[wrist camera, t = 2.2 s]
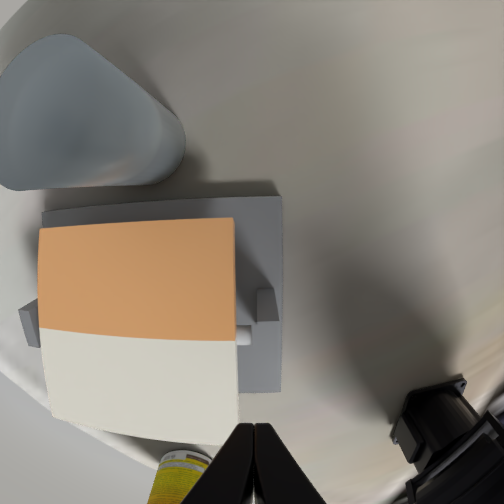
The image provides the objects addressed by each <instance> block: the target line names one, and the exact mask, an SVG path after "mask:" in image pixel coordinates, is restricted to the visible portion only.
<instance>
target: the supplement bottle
mask: <svg viewBox="0 0 504 504" xmlns="http://www.w3.org/2000/svg"><path fill="white" fill-rule="evenodd" d="M211 461H212V460H211V459H209V458H208V457H206V456H204V455H202V454H199V453H196V452H193V451H187V450H176V451H172V452H169V453H167V454H165V455H164V456H163V457H162V459H161V461H160V464H159V467H158V470H157V473H156V477H155V480H154V483H153V487H152V490H151V493H150V496H149V500H148V503H147V504H180V502H181V501H182V500H183V499H184V497H185V496H186V495H187V493H188V492H189V491H190V490H191V488H192V487H193V486H194V484H195V483H196V482H197V480H198V479H199V478H200V476H201V475H202V474H203V472H204V471H205V470H206V468H207V467H208V465H209V464H210V463H211Z"/></svg>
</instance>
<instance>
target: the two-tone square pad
mask: <svg viewBox="0 0 504 504" xmlns="http://www.w3.org/2000/svg"><path fill="white" fill-rule="evenodd" d="M38 316H39V331H40V342H41V352H42V360H43V367H44V374H45V381H46V386H47V392H48V397H49V402H50V407H51V412H52V416H53V417H54V418H57V419H61V420H64V421H67V422H71V423H75V424H78V425H82V426H86V427H90V428H95V429H99V430H103V431H108V432H113V433H118V434H123V435H129V436H134V437H140V438H147V439H154V440H162V441H170V442H179V443H190V444H204V445H223V444H224V443H225V441H226V440H227V438H228V437H229V436H230V434H231V433H232V431H233V430H234V428H235V427H236V425H237V424H239V423H240V420H239V393H238V362H237V345H252V328H251V325H236V281H235V222H234V220H233V217H231V218H202V219H178V220H157V221H139V222H122V223H106V224H92V225H78V226H66V227H54V228H42V229H40V231H39V246H38Z"/></svg>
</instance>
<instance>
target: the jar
mask: <svg viewBox="0 0 504 504" xmlns="http://www.w3.org/2000/svg"><path fill="white" fill-rule="evenodd" d="M185 147H186V137H185V132H184V129H183V126H182V124H181V122H180V121H179V119H178V118H177V117H176V116H175V115H174V114H173V113H172V112H170V111H169V110H168V109H167V108H166V107H164V106H163V105H162V104H161V103H160V102H159V101H157V100H156V99H155V98H154V97H153V96H151V95H150V94H149V93H148V92H146V91H145V90H144V89H143V88H142V87H140V86H139V85H138V84H137V83H135V82H134V81H133V80H132V79H131V78H129V77H128V76H127V75H126V74H124V73H123V72H122V71H121V70H119V69H118V68H117V67H116V66H114V65H113V64H112V63H110V62H109V61H108V60H107V59H105V58H104V57H103V56H101V55H100V54H99V53H98V52H96V51H95V50H94V49H92V48H91V47H90V46H88V45H87V44H86V43H84V42H83V41H82V40H80V39H79V38H77V37H75V36H72V35H69V34H54V35H50V36H47V37H44V38H42V39H39V40H38V41H36V42H34V43H32V44H31V45H29V46H28V47H26V48H25V49H24V50H23V51H22V52H20V53H19V54H18V55H17V56H16V57H15V58H14V59H13V61H12V62H11V63H10V64H9V65H8V67H7V68H6V69H5V71H4V72H3V74H2V75H1V77H0V184H1V185H2V186H4V187H6V188H8V189H11V190H15V191H25V190H38V189H52V188H69V187H90V186H123V185H152V184H155V183H158V182H161V181H163V180H164V179H166V178H167V177H169V176H170V175H171V174H172V173H173V172H174V171H175V170H176V168H177V167H178V166H179V164H180V162H181V160H182V158H183V155H184V152H185Z"/></svg>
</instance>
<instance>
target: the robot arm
mask: <svg viewBox="0 0 504 504" xmlns="http://www.w3.org/2000/svg"><path fill="white" fill-rule="evenodd" d="M466 384H467V381H466V380H465V379H464V378H462V379H458V380H455V381H451V382H447V383H444V384H440V385H436V386H432V387H428V388H424V389H419V390H415V391H412V392H410V393H409V394H408V395H407V398H406V401H405V404H404V408H403V411H402V414H401V415H400V418H399V421H398V424H397V426H396V429H395V432H394V436H393V439H392V442H393V444H395V445H396V444H399V445H400V447H401V449H402V451H403V453H404V455H405V457H406V459H407V462H408V463H410V464H412V463H414V465H415V467H416V469H417V471H418V473H419V474H418V475H417V476H415V477H414V478H413V479H410V480H408V481H407V482H406V483H405V484H406V489H407V490H406V492H407V497H408V503H409V504H504V425H503V424H502V423H501V422H500V421H499V420H498V419H497V418H496V417H495V416H494V415H493V414H491V413H490V412H489V411H488V410H487V411H486V412H485V413H484V414H483V417H482V418H481V417H480V416H479V415H478V413H477V412H476V411H475V410H474V409H473V407H472V406H471V405H470V404H469V403H468V402H467V400H466V399H465V398H464V397H463V396H462V394H463V392H464V389H465V386H466ZM253 493H254V497H255V504H326V502H325V501H324V500H323V498H322V497H321V496H320V494H319V493H318V492H317V490H316V489H315V488H314V486H313V485H312V483H311V482H310V481H309V479H308V478H307V477H306V475H305V474H304V472H303V471H302V470H301V468H300V467H299V465H298V464H297V462H296V461H295V460H294V458H293V457H292V455H291V454H290V452H289V451H288V449H287V448H286V446H285V445H284V443H283V442H282V440H281V439H280V437H279V436H278V434H277V433H276V431H275V430H274V428H273V427H272V425H271V424H269V423H256V424H255V425H253V424H252V423H239V424H237V425H236V427H235V428H234V430H233V431H232V433H231V434H230V436H229V437H228V438H227V440H226V441H225V443H224V444H223V446H222V447H221V449H220V450H219V451H218V453H217V454H216V456H215V457H214V458H213V460H212V461H211V463H210V464H209V465H208V467H207V468H206V470H205V471H204V472H203V474H202V475H201V476H200V478H199V479H198V480H197V482H196V483H195V484H194V486H193V487H192V488H191V490H190V491H189V492H188V493H187V495H186V496H185V497H184V499H183V500H182V501H181V502H180V504H252V502H253Z"/></svg>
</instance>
